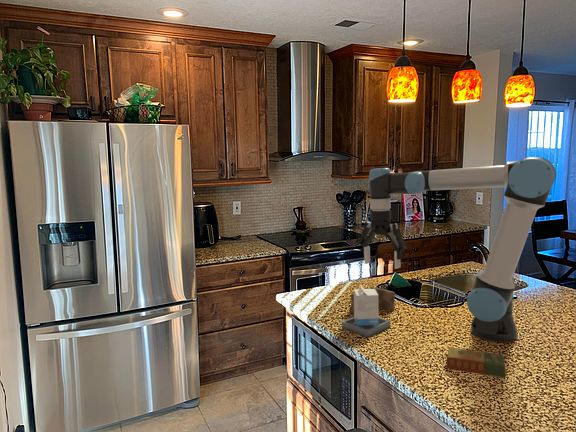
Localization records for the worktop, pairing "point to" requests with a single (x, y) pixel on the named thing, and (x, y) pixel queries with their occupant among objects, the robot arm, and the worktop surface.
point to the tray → (365, 327)
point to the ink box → (366, 307)
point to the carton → (476, 362)
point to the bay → (380, 299)
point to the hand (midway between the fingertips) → (382, 265)
